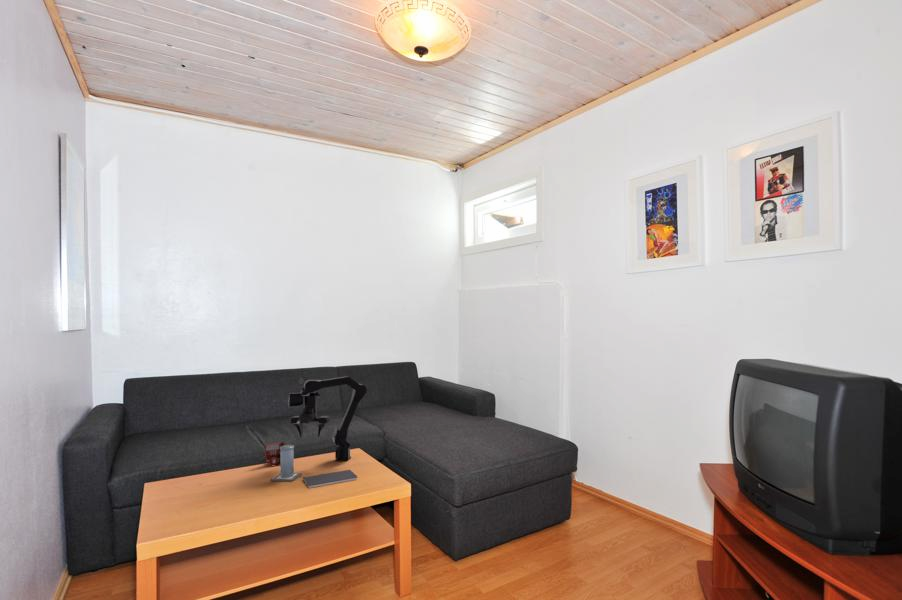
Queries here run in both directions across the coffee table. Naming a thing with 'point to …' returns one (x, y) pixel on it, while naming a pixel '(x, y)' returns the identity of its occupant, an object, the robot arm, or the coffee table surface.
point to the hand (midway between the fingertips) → (310, 437)
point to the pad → (278, 478)
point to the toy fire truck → (273, 453)
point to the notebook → (329, 478)
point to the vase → (287, 461)
